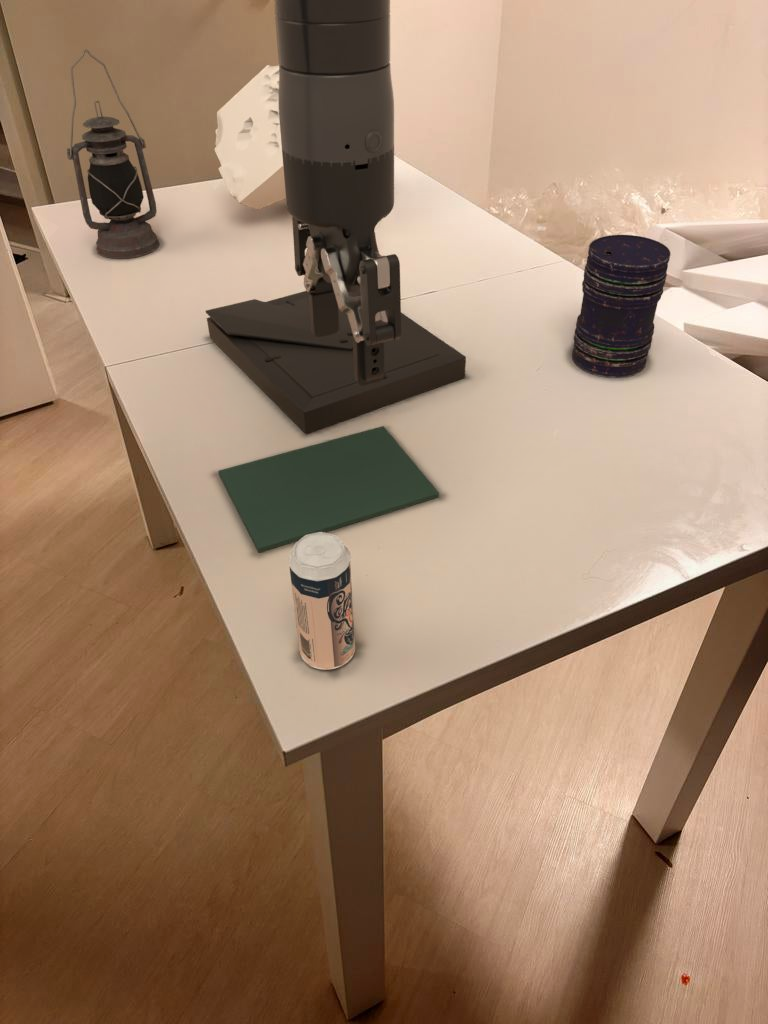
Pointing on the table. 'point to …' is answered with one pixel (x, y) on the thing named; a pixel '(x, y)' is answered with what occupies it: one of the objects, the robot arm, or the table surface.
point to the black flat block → (326, 360)
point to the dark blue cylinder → (619, 304)
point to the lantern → (114, 185)
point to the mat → (324, 487)
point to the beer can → (323, 600)
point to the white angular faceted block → (252, 142)
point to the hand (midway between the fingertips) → (346, 356)
